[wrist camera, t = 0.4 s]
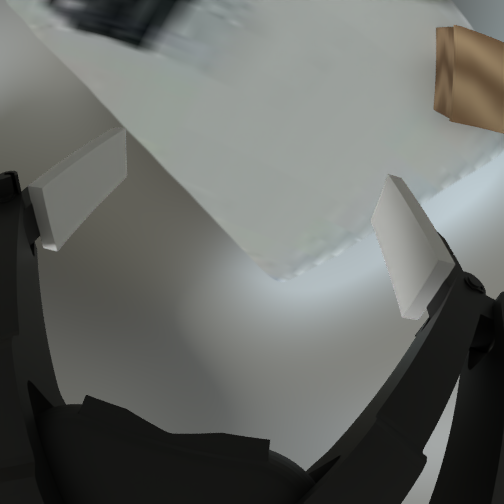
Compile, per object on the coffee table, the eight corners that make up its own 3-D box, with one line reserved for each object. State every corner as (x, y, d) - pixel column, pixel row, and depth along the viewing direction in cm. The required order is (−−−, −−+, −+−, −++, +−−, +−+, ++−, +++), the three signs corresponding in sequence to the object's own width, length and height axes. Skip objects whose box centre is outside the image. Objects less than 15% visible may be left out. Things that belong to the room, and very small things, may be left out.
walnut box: (434, 26, 25) (455, 25, 21) (503, 49, 24) (528, 53, 19) (432, 110, 33) (451, 121, 28) (498, 125, 31) (520, 138, 27)
